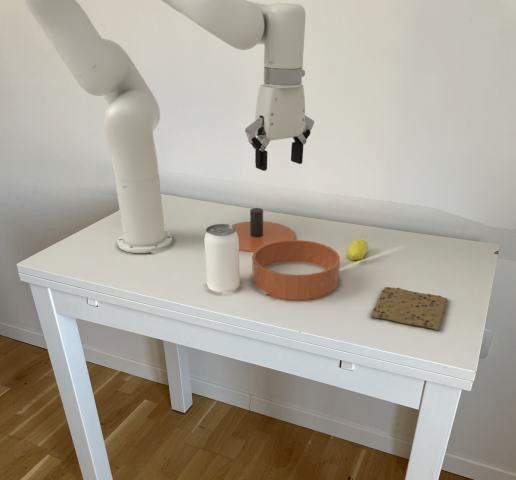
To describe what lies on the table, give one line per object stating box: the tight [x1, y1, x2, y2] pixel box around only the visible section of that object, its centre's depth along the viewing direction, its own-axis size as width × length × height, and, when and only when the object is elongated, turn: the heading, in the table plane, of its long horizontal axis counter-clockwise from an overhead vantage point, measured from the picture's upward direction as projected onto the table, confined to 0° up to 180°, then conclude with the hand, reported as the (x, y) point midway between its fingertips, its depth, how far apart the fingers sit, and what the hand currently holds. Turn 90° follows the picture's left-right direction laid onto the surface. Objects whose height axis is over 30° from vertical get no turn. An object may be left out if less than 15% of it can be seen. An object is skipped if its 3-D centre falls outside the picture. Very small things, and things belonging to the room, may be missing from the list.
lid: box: [231, 207, 296, 253], centre depth 126 cm, size 18×18×7 cm
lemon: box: [346, 238, 369, 261], centre depth 117 cm, size 4×8×4 cm, turn 153°
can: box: [203, 223, 241, 293], centre depth 104 cm, size 6×6×12 cm
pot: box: [251, 239, 341, 302], centre depth 108 cm, size 17×17×5 cm
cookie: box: [371, 286, 448, 331], centre depth 99 cm, size 12×12×1 cm
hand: (279, 165), depth 116 cm, fingers open, 9 cm apart
